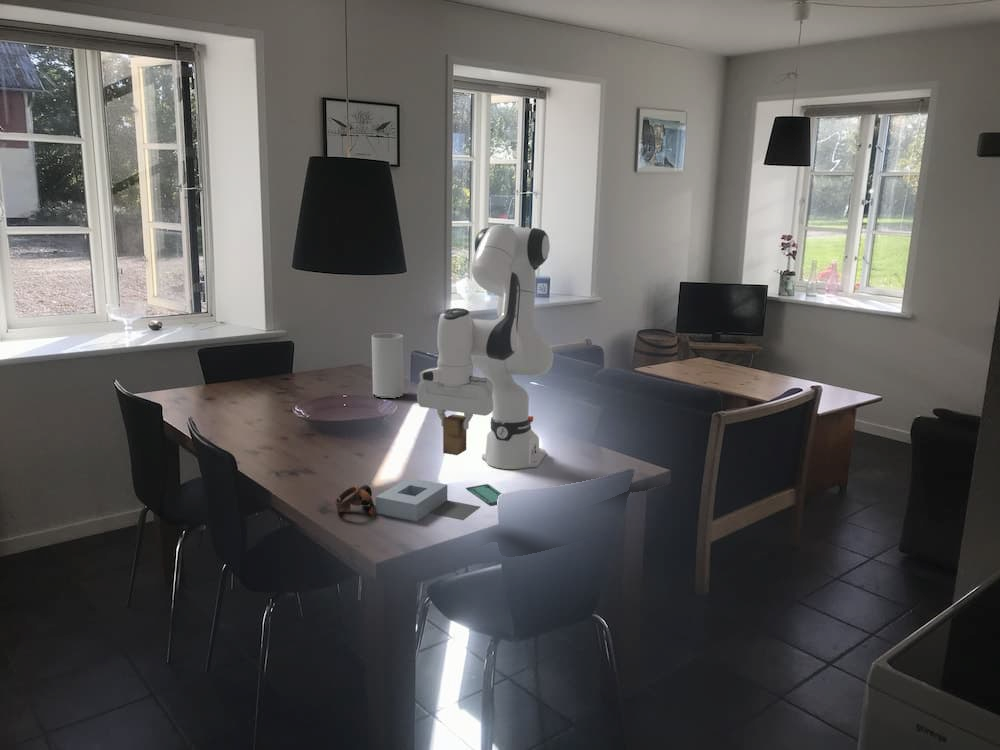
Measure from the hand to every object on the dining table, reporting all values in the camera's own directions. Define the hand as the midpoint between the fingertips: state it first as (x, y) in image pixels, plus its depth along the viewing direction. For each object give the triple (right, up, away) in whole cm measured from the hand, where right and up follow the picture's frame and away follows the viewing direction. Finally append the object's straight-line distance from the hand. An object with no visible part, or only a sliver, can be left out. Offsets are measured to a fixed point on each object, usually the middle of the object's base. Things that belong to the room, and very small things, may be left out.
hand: (454, 427), depth 202 cm
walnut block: (0, -6, +1) cm, 6 cm away
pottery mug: (-25, -23, +4) cm, 34 cm away
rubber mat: (0, -22, +5) cm, 23 cm away
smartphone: (+9, -21, +16) cm, 27 cm away
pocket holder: (-11, -22, +7) cm, 25 cm away
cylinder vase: (-35, +5, +126) cm, 131 cm away
